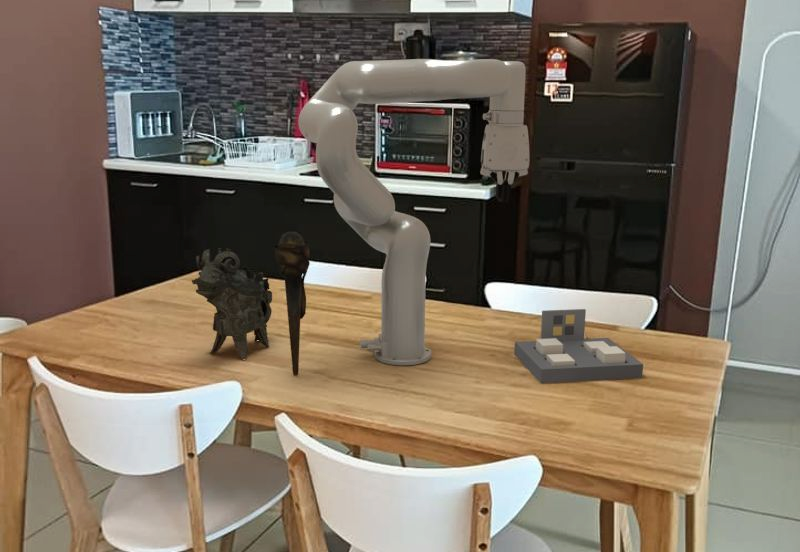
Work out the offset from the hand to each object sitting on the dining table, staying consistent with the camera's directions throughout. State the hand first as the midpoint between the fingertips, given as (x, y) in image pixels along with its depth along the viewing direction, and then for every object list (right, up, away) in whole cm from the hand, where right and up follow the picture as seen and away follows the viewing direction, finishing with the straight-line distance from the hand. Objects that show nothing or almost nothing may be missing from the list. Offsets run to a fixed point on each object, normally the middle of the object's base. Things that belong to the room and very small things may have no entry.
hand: (502, 201), depth 188 cm
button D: (+20, -34, -6) cm, 40 cm away
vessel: (-60, -34, -1) cm, 69 cm away
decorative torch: (-45, -38, -15) cm, 61 cm away
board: (+15, -36, -8) cm, 40 cm away
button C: (+9, -33, -8) cm, 36 cm away
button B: (+21, -35, -13) cm, 43 cm away
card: (+13, -31, -1) cm, 34 cm away
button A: (+10, -36, -14) cm, 40 cm away
